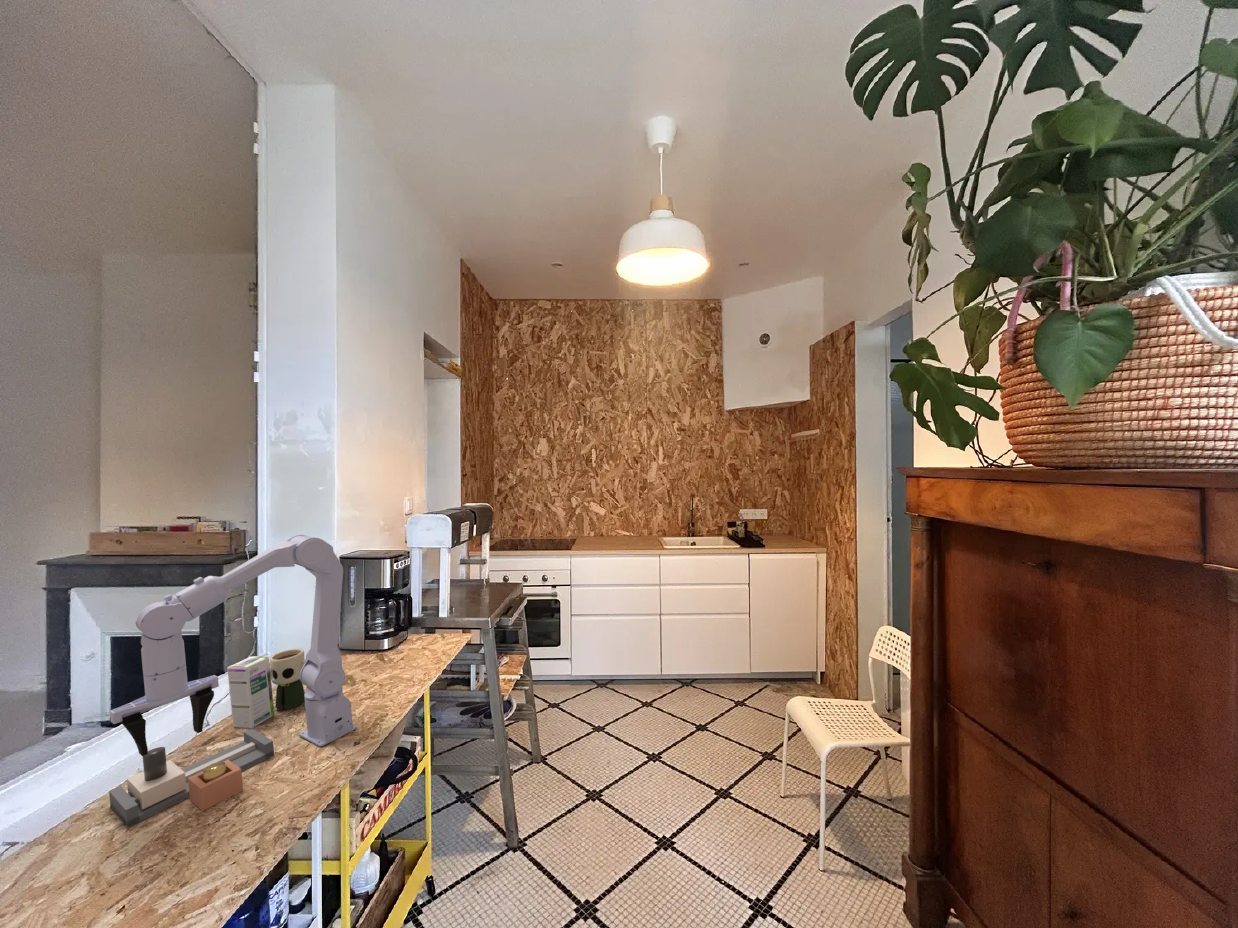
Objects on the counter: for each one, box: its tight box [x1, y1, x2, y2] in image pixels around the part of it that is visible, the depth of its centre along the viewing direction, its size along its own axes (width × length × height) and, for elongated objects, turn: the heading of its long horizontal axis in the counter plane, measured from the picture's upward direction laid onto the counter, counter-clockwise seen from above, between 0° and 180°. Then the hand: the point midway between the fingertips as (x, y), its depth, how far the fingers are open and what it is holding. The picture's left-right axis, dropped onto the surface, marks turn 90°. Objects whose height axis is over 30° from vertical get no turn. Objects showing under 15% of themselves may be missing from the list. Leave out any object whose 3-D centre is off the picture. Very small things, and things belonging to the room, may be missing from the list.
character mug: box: [269, 648, 306, 711], centre depth 122 cm, size 11×7×13 cm, turn 94°
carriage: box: [126, 746, 186, 810], centre depth 90 cm, size 8×6×7 cm
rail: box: [108, 728, 275, 828], centre depth 95 cm, size 10×22×3 cm, turn 148°
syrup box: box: [226, 655, 275, 729], centre depth 115 cm, size 6×6×14 cm
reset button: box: [203, 761, 226, 783], centre depth 90 cm, size 3×3×3 cm
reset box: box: [188, 760, 244, 812], centre depth 90 cm, size 6×6×4 cm
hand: (171, 741), depth 90 cm, fingers open, 7 cm apart
